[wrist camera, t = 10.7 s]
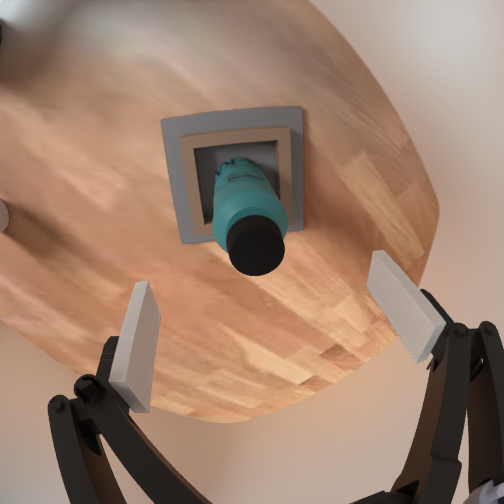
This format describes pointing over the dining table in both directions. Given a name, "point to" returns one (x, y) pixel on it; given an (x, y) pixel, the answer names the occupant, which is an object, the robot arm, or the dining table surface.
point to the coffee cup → (3, 216)
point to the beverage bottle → (248, 217)
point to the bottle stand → (227, 146)
